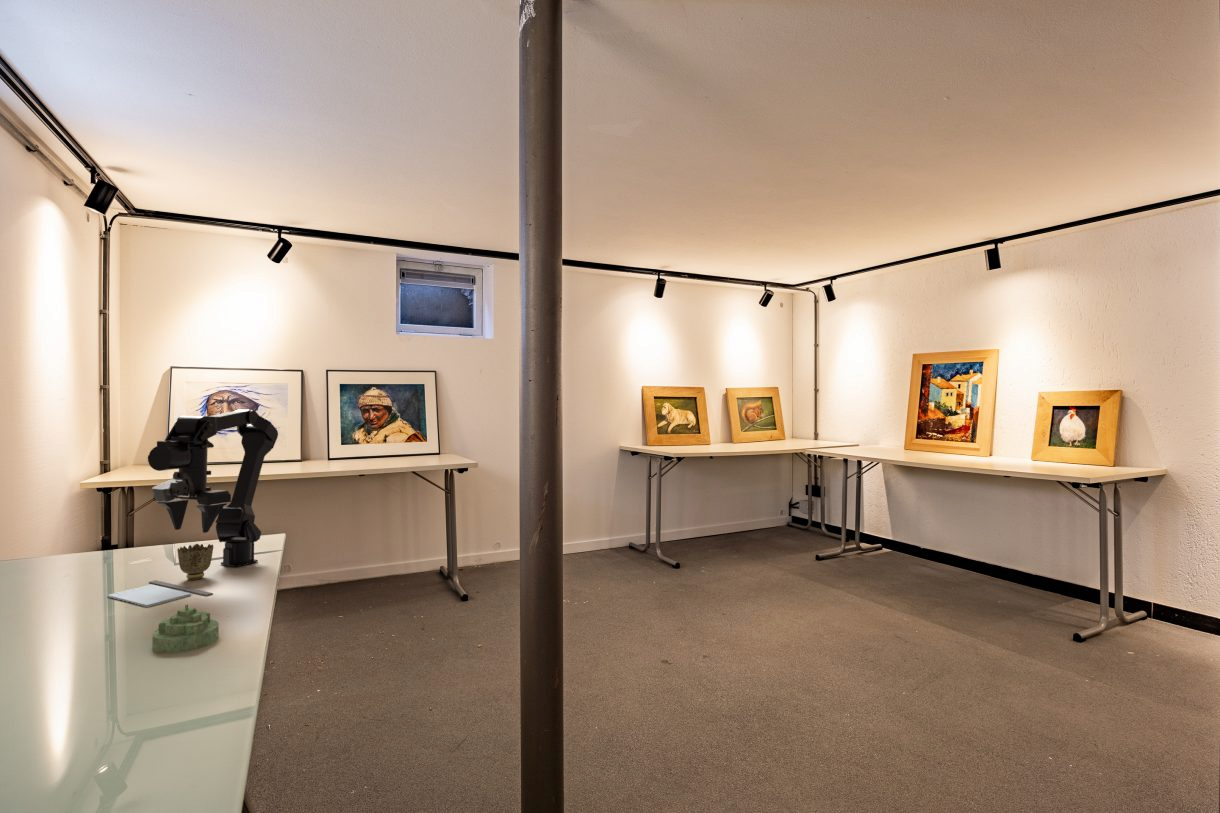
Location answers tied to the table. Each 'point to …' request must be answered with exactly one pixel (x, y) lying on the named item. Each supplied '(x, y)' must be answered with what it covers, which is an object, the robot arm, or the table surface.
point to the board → (149, 595)
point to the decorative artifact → (185, 631)
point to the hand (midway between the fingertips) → (191, 531)
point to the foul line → (182, 588)
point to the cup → (195, 560)
